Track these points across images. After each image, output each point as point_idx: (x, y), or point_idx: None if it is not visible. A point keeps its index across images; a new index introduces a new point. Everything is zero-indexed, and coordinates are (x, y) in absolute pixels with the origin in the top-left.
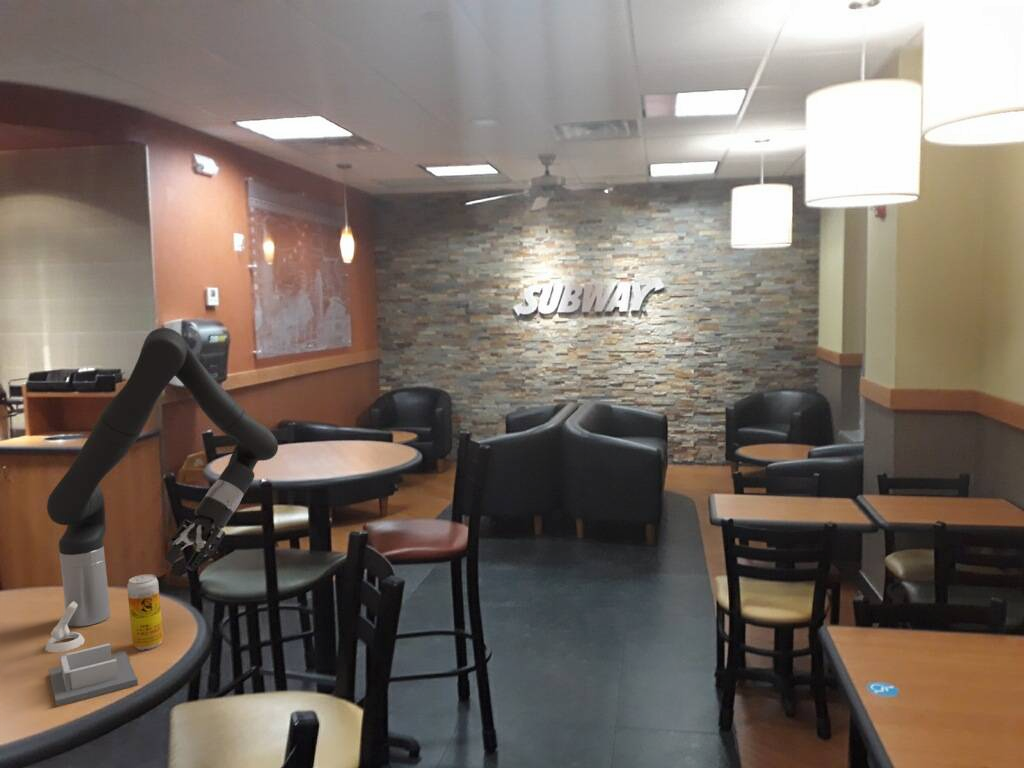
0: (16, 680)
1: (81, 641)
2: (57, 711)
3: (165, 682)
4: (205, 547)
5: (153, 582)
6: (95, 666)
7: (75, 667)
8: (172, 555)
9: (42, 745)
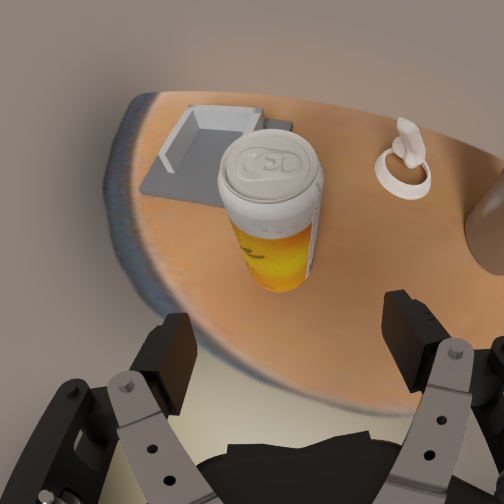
0: (310, 106)
1: (389, 186)
2: (174, 120)
3: (113, 223)
4: (64, 391)
5: (222, 189)
6: (171, 132)
7: None
8: (397, 328)
9: (127, 109)
